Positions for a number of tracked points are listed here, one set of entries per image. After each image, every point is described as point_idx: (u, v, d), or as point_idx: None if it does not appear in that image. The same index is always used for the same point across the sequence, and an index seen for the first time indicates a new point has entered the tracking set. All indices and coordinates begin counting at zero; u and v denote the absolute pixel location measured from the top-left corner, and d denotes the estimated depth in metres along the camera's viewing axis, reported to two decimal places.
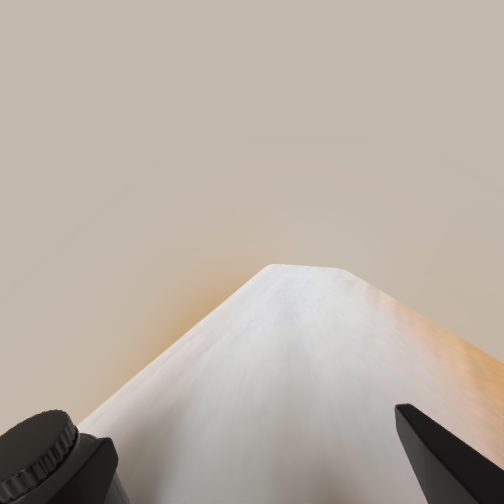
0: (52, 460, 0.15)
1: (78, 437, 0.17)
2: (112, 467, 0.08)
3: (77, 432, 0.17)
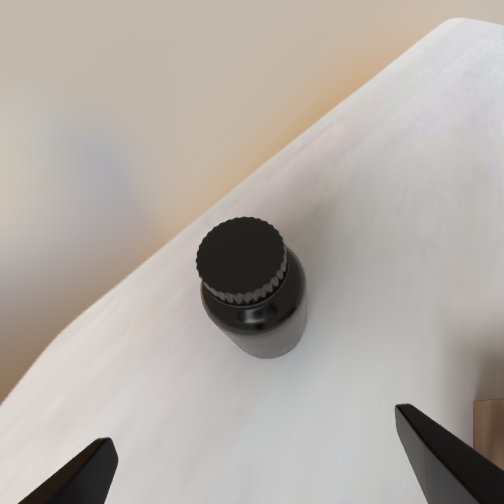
0: (277, 280, 0.13)
1: (287, 254, 0.15)
2: (112, 467, 0.08)
3: None
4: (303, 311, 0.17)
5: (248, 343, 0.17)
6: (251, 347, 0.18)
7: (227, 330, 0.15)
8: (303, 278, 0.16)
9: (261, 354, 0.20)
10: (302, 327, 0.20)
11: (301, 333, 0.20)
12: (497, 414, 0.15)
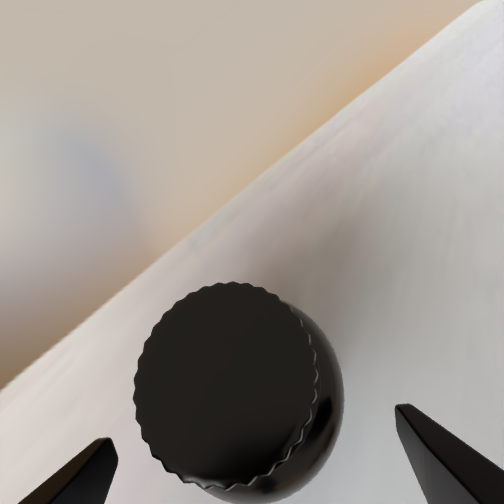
0: None
1: (316, 355, 0.08)
2: (112, 467, 0.08)
3: None
4: None
5: None
6: None
7: (202, 488, 0.08)
8: (340, 384, 0.09)
9: None
10: None
11: None
12: None
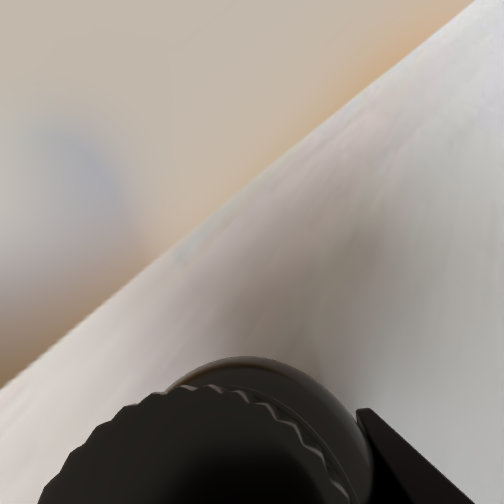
0: None
1: None
2: None
3: (356, 502, 0.04)
4: None
5: None
6: None
7: None
8: None
9: None
10: None
11: None
12: None
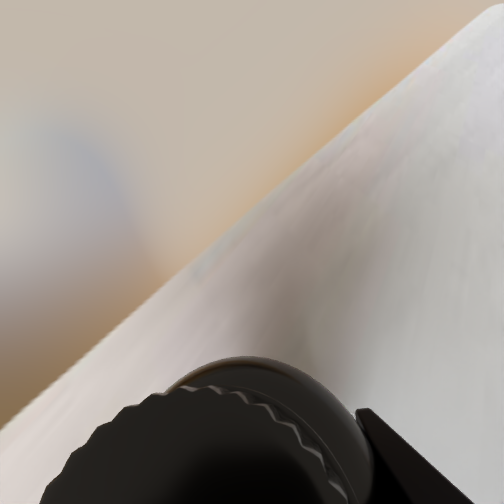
0: None
1: None
2: None
3: (355, 503, 0.04)
4: None
5: None
6: None
7: None
8: None
9: None
10: None
11: None
12: None
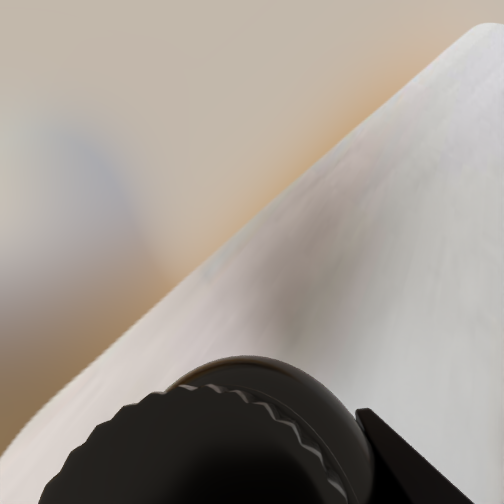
0: None
1: None
2: None
3: (355, 502, 0.04)
4: None
5: None
6: None
7: None
8: None
9: None
10: None
11: None
12: None
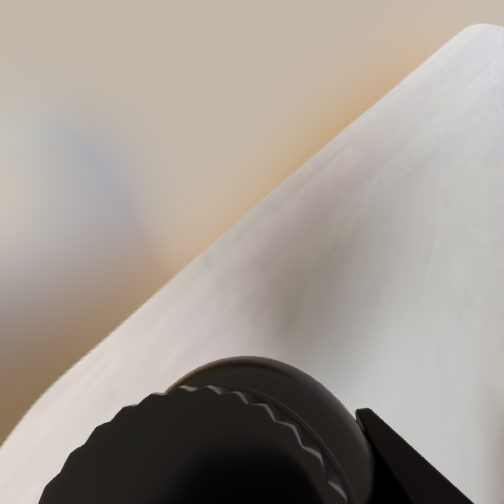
0: None
1: None
2: None
3: (355, 503, 0.04)
4: None
5: None
6: None
7: None
8: None
9: None
10: None
11: None
12: None
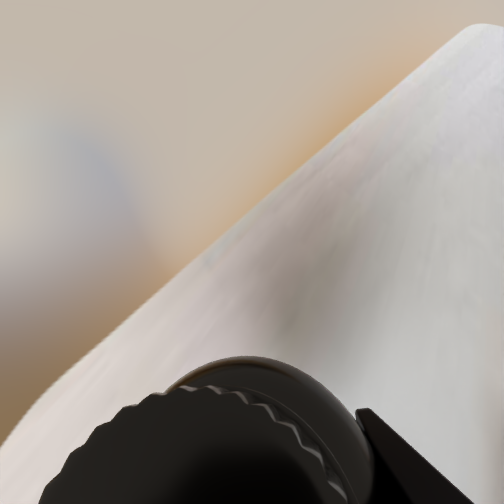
0: None
1: None
2: None
3: (355, 503, 0.04)
4: None
5: None
6: None
7: None
8: None
9: None
10: None
11: None
12: None
